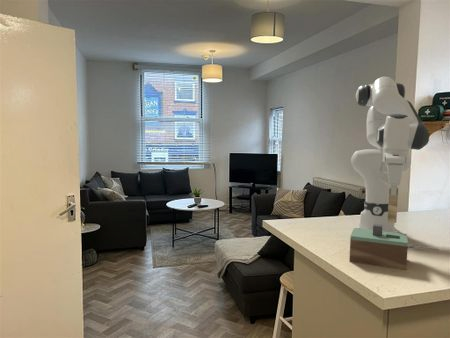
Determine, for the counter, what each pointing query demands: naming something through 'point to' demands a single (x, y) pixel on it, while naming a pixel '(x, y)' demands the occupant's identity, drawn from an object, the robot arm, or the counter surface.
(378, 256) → the toolbox
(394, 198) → the wooden block
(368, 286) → the counter surface
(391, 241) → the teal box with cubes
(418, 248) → the pliers
